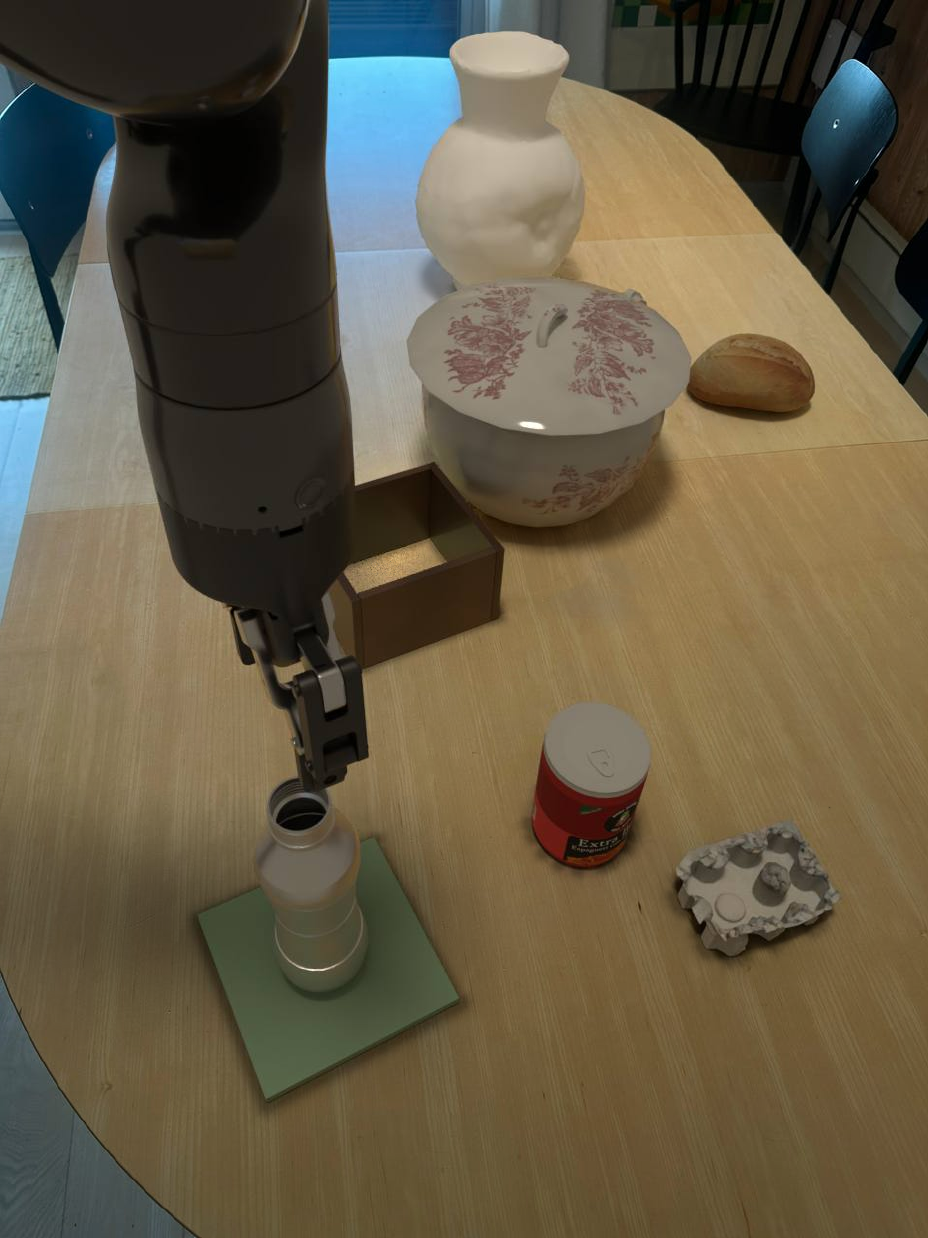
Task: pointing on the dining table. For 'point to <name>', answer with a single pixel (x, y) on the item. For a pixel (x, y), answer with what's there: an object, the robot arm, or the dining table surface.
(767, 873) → the egg carton
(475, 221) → the vase
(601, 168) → the dining table surface
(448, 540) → the crate
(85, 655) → the dining table surface
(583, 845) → the canned food
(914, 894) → the dining table surface
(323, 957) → the plastic bottle
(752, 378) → the bread roll
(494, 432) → the chamber pot
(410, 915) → the mat
